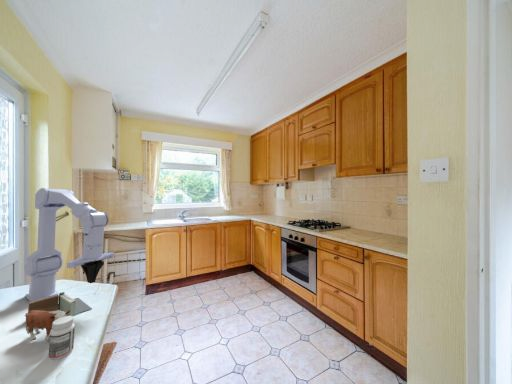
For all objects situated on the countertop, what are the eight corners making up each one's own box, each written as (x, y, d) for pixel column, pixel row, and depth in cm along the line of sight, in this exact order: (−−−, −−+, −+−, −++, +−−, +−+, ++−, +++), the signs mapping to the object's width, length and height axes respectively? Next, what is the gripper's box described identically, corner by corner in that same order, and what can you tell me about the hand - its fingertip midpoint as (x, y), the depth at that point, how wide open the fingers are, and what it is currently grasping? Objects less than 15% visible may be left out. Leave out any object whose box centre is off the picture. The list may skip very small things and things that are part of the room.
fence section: (27, 319, 66) (28, 301, 66) (62, 307, 73) (63, 291, 74) (28, 320, 65) (29, 302, 66) (64, 309, 73) (65, 292, 73)
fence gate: (59, 310, 71) (60, 295, 72) (64, 308, 72) (65, 294, 73) (69, 317, 67) (70, 302, 67) (75, 315, 68) (76, 300, 68)
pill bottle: (59, 346, 55) (61, 314, 55) (78, 345, 55) (79, 314, 55) (42, 360, 50) (44, 325, 50) (63, 359, 50) (65, 325, 51)
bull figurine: (56, 346, 55) (58, 315, 55) (19, 339, 57) (21, 309, 58) (73, 336, 59) (75, 307, 59) (38, 329, 62) (40, 302, 62)
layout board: (25, 314, 69) (25, 313, 69) (78, 298, 81) (78, 297, 81) (35, 329, 62) (35, 327, 62) (91, 309, 73) (91, 308, 73)
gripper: (76, 250, 67) (74, 292, 66) (120, 242, 80) (118, 277, 80) (64, 248, 69) (61, 288, 69) (108, 240, 83) (106, 274, 82)
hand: (91, 282), depth 74 cm, fingers closed
